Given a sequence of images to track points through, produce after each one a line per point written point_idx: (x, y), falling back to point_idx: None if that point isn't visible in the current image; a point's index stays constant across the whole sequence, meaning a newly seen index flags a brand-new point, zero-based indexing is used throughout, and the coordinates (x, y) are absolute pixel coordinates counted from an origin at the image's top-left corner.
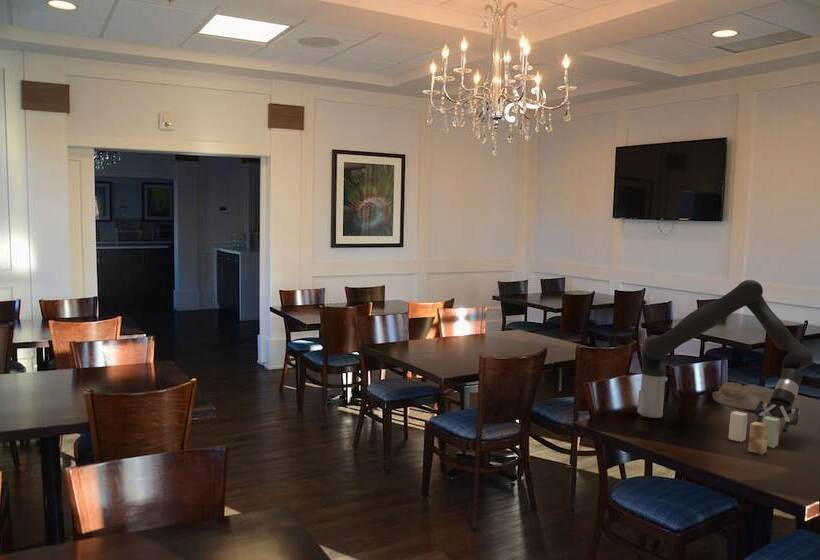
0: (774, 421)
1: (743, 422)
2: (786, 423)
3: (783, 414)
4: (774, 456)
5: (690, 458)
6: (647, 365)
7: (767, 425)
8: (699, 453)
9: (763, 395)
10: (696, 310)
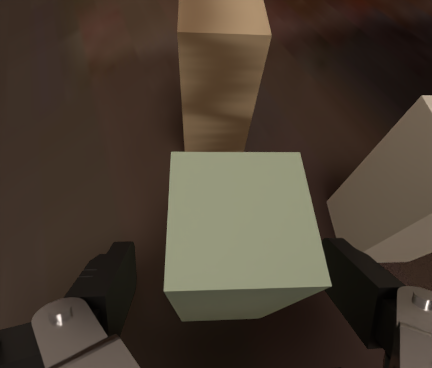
0: (184, 155)
1: (391, 153)
2: (88, 285)
3: (124, 356)
4: (139, 130)
5: None
6: None
7: (178, 22)
8: (306, 12)
9: None
10: None
